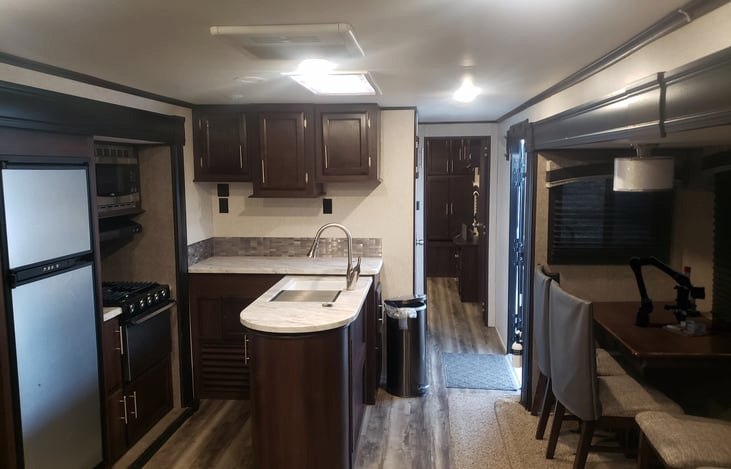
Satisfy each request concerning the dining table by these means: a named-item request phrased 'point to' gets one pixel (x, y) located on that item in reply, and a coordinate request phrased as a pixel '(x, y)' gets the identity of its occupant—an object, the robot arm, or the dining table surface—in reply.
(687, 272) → the liquor
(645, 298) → the robot arm
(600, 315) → the dining table surface
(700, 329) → the gauge base
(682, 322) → the push plate
